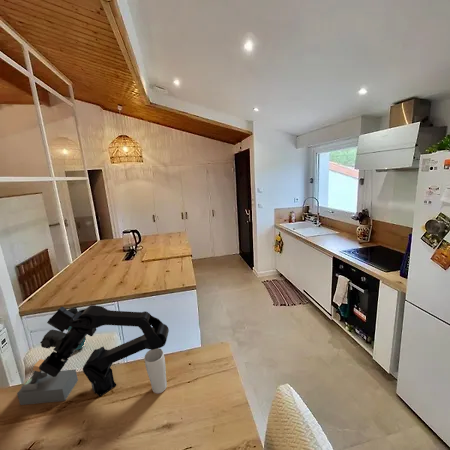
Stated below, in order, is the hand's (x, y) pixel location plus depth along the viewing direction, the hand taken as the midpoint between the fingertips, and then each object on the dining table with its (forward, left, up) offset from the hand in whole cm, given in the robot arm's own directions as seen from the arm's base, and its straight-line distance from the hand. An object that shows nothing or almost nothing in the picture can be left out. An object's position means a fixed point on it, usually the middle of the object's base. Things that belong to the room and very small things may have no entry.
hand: (51, 367), depth 91 cm
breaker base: (+2, -2, -11) cm, 11 cm away
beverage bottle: (-14, -20, -11) cm, 27 cm away
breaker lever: (+5, -5, -5) cm, 8 cm away
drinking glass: (-25, +29, -11) cm, 40 cm away
